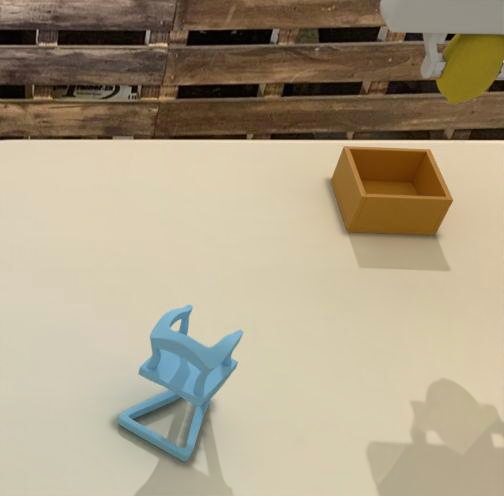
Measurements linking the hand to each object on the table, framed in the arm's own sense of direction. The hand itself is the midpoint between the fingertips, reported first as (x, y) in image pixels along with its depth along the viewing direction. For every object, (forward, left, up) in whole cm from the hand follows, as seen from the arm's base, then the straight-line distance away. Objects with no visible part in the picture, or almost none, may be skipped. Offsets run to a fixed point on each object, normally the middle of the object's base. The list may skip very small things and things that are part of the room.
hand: (463, 76), depth 88 cm
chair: (+27, +30, -19) cm, 45 cm away
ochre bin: (-1, -6, -19) cm, 20 cm away
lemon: (0, 0, -3) cm, 3 cm away
